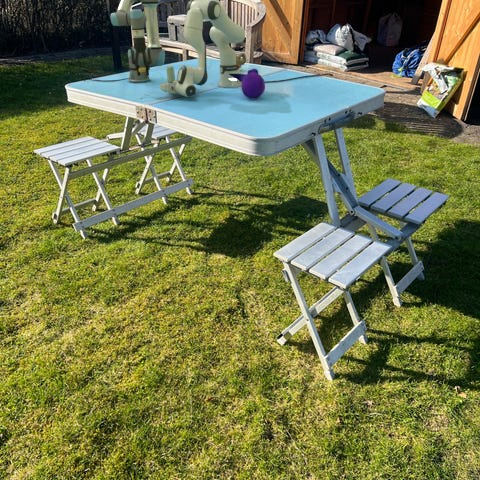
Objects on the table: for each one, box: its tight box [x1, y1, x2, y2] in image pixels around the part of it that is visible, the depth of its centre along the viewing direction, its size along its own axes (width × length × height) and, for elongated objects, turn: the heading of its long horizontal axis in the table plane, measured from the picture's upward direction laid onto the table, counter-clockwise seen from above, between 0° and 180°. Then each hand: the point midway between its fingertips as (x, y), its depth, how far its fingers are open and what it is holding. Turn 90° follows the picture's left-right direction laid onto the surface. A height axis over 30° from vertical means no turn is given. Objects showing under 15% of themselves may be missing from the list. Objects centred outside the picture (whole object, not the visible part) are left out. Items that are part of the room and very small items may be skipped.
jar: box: [166, 65, 176, 96], centre depth 296 cm, size 5×5×17 cm
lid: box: [138, 68, 146, 72], centre depth 293 cm, size 6×6×2 cm
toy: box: [229, 68, 266, 100], centre depth 284 cm, size 16×18×27 cm
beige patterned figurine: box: [236, 52, 247, 70], centre depth 365 cm, size 21×12×15 cm, turn 120°
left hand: (143, 75), depth 295 cm, fingers closed on lid, 5 cm apart
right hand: (171, 83), depth 298 cm, fingers closed on jar, 5 cm apart
